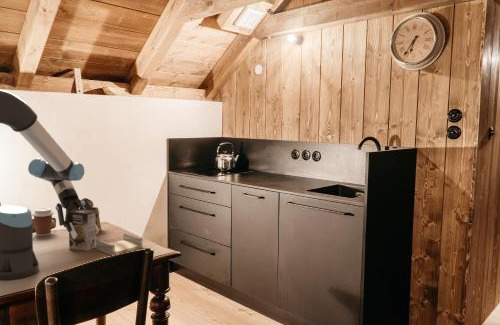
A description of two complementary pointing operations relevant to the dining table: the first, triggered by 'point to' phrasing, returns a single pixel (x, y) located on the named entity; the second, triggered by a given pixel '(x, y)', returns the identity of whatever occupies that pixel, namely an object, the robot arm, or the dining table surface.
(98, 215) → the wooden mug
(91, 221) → the coffee box
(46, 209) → the coffee cup
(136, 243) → the shallow rail tray
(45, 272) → the dining table surface
